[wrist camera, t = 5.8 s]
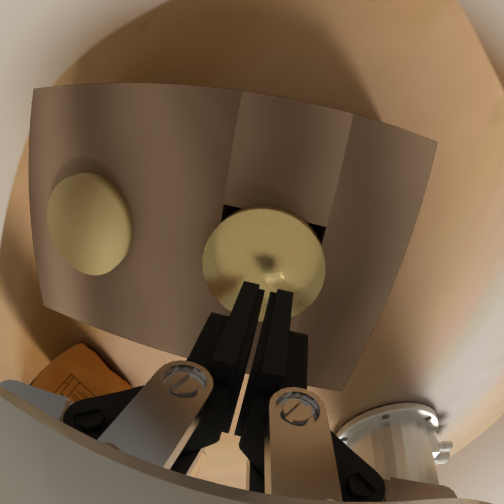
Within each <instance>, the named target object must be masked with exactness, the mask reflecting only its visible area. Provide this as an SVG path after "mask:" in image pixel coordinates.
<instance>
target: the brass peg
mask: <svg viewBox="0 0 504 504" xmlns="http://www.w3.org/2000/svg"><path fill="white" fill-rule="evenodd" d="M202 267H203V274H204V278H205V281H206V283H207V286H208V288H209V289H210V291H211V293H212V294H213V296H214V297H215V298H216V299H217V300H218V301H219V303H221V304H222V305H223V306H224V307H225V308H227V309H228V310H229V311H232V309H233V306H234V304H235V301H236V299H237V296H238V294H239V291H240V289H241V287H242V284H243V282H244V281H247V282H251V283H256V284H260V287H259V289H263V290H265V293H264V298H263V302H262V306H261V310H260V315H259V319H258V321H259V322H263V319H264V315H265V311H266V307H267V303H268V299H269V295H270V291H271V292H275V293H276V292H277V289H281V290H286V291H290V292H293V303H292V313H291V317H293V316H296V315H297V314H299V313H301V312H302V311H304V310H305V309H306V308H308V307H309V306H310V305H311V304H312V303H313V301H314V300H315V299H316V298H317V296H318V294H319V293H320V291H321V288H322V286H323V283H324V279H325V270H326V269H325V258H324V252H323V248H322V245H321V242H320V239H319V238H318V236H317V234H316V232H315V231H314V230H313V228H312V227H311V226H310V225H309V224H308V223H307V222H306V221H305V220H304V219H303V218H301V217H300V216H299V215H297V214H295V213H294V212H292V211H289V210H287V209H285V208H281V207H278V206H272V205H254V206H249V207H245V208H242V209H240V210H237V211H235V212H233V213H232V214H230V215H229V216H227V217H226V218H225V219H224V220H223V221H222V222H221V223H220V224H219V225H218V226H217V227H216V229H215V230H214V231H213V233H212V234H211V235H210V237H209V239H208V241H207V243H206V245H205V248H204V252H203V258H202Z"/></svg>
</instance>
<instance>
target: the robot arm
mask: <svg viewBox="0 0 504 504" xmlns="http://www.w3.org/2000/svg"><path fill="white" fill-rule="evenodd" d="M259 287H260V284H256V283H251V282H247V281H244V282H243V284H242V287H241V289H240V291H239V294H238V296H237V299H236V301H235V304H234V306H233V309H232V311H231V313H230V316H226V315H222V314H218V313H214V312H211V314H210V315H209V317H208V319H207V321H206V323H205V325H204V327H203V329H202V331H201V333H200V335H199V337H198V339H197V341H196V343H195V345H194V347H193V349H192V351H191V353H190V355H189V356H188V358H187V360H186V361H181V360H179V361H172V362H169V363H167V364H165V365H163V366H162V367H161V368H160V369H159V370H158V371H157V372H156V373H155V374H154V375H153V376H152V378H151V379H150V380H149V381H148V382H147V383H146V385H144V386H140V387H136V388H132V389H128V390H123V391H119V392H115V393H110V394H106V395H101V396H96V397H91V398H86V399H82V400H79V401H76V402H71V401H70V400H69V398H68V397H65V396H62V395H58V394H55V393H52V392H49V391H45V390H42V389H39V388H36V387H33V386H30V385H28V384H25V383H22V382H19V381H16V380H5V381H3V382H1V383H0V504H491V503H488V502H483V501H479V500H472V499H461V498H457V496H456V495H455V493H454V491H453V490H451V489H450V488H449V487H446V486H443V485H439V480H438V475H437V470H436V465H435V464H442V463H446V462H447V461H448V459H449V451H450V450H451V449H452V446H453V444H452V442H451V441H442V442H438V441H437V439H436V435H435V434H436V432H437V430H438V426H439V422H438V418H437V415H436V413H435V411H434V410H433V409H432V408H430V407H428V406H426V405H423V404H419V403H396V404H391V405H386V406H382V407H379V408H375V409H373V410H370V411H367V412H365V413H363V414H361V415H359V416H357V417H355V418H354V419H352V420H350V421H349V422H347V423H346V424H345V425H344V426H343V427H342V428H340V430H339V431H338V432H337V434H336V435H335V434H334V433H333V432H332V431H331V430H330V427H329V422H328V417H327V411H326V408H325V405H324V403H323V402H322V400H321V399H320V398H319V397H318V396H317V395H315V394H314V393H313V392H311V391H308V390H307V366H308V335H307V334H303V333H298V332H294V331H290V323H291V313H292V303H293V292H290V291H286V290H281V289H277V292H276V293H275V292H271V291H270V295H269V299H268V303H267V307H266V311H265V315H264V319H263V323H262V327H261V331H260V335H259V339H258V343H257V347H256V351H255V355H254V359H253V363H252V367H251V371H250V375H249V379H248V383H247V387H246V391H245V395H244V399H243V403H242V407H241V411H240V415H239V418H238V422H237V426H236V430H235V434H234V435H237V436H241V438H240V442H239V446H240V447H239V448H240V449H241V450H242V452H243V453H244V454H245V455H246V457H247V458H248V460H247V470H246V490H243V489H238V488H234V487H229V486H225V485H221V484H217V483H213V482H209V481H205V480H202V479H198V478H195V477H191V476H189V475H190V474H191V472H192V470H193V469H194V467H195V465H196V463H197V462H198V460H199V458H200V456H201V455H202V453H203V450H204V447H206V446H209V445H212V444H214V443H216V442H217V441H219V439H220V436H221V433H222V432H225V433H229V430H230V426H231V423H232V419H233V416H234V412H235V408H236V405H237V401H238V397H239V394H240V390H241V386H242V383H243V379H244V375H245V372H246V368H247V364H248V360H249V357H250V353H251V348H252V344H253V340H254V336H255V332H256V327H257V323H258V319H259V315H260V310H261V306H262V302H263V298H264V293H265V290H263V289H259Z"/></svg>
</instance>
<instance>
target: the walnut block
mask: <svg viewBox="0 0 504 504" xmlns="http://www.w3.org/2000/svg"><path fill="white" fill-rule="evenodd" d="M437 143H438V142H437V141H434V140H431V139H429V138H426V137H424V136H421V135H418V134H415V133H413V132H410V131H407V130H404V129H401V128H398V127H395V126H392V125H389V124H386V123H383V122H380V121H376V120H373V119H370V118H366V117H363V116H360V115H356V114H352V113H349V112H345V111H341V110H337V109H333V108H329V107H325V106H321V105H317V104H312V103H308V102H303V101H298V100H293V99H288V98H283V97H277V96H272V95H266V94H260V93H253V92H247V91H240V90H232V89H224V88H215V87H205V86H193V85H180V84H161V83H96V84H77V85H64V86H54V87H45V88H36V89H34V91H33V99H32V109H31V120H30V135H29V199H30V215H31V227H32V237H33V246H34V253H35V260H36V267H37V273H38V279H39V285H40V290H41V295H42V300H43V305H44V306H45V307H48V308H50V309H52V310H54V311H57V312H59V313H61V314H64V315H66V316H68V317H71V318H73V319H76V320H78V321H80V322H83V323H85V324H88V325H90V326H93V327H96V328H98V329H101V330H103V331H106V332H109V333H111V334H114V335H117V336H120V337H123V338H125V339H128V340H131V341H134V342H137V343H140V344H143V345H146V346H149V347H152V348H155V349H158V350H161V351H165V352H168V353H171V354H174V355H178V356H181V357H185V358H188V356H189V355H190V353H191V351H192V349H193V347H194V345H195V343H196V341H197V339H198V337H199V335H200V333H201V331H202V329H203V327H204V325H205V323H206V321H207V319H208V317H209V315H210V314H211V312H214V313H218V314H222V315H226V316H230V313H231V311H229V310H228V309H227V308H225V307H224V306H223V305H222V304H221V303H219V301H218V300H217V299H216V298H215V297H214V296H213V294H212V293H211V291H210V289H209V288H208V286H207V283H206V281H205V278H204V274H203V267H202V258H203V252H204V248H205V245H206V243H207V241H208V239H209V237H210V235H211V234H212V233H213V231H214V230H215V229H216V227H217V226H218V225H219V224H220V223H221V222H222V221H223V220H224V219H225V218H226V217H227V216H229V215H230V214H232V213H233V212H235V211H237V210H240V209H242V208H245V207H249V206H254V205H272V206H278V207H281V208H285V209H287V210H289V211H292V212H294V213H295V214H297V215H299V216H300V217H301V218H303V219H304V220H305V221H306V222H307V223H308V224H309V225H310V226H311V227H312V228H313V230H314V231H315V232H316V234H317V236H318V238H319V239H320V242H321V245H322V248H323V252H324V258H325V269H326V270H325V279H324V283H323V286H322V288H321V291H320V293H319V294H318V296H317V298H316V299H315V300H314V301H313V303H312V304H311V305H310V306H309V307H308V308H306V309H305V310H304V311H302V312H301V313H299V314H297V315H296V316H293V317H291V323H290V331H294V332H298V333H303V334H307V335H308V366H307V386H312V387H318V388H324V389H331V390H338V391H342V390H343V388H344V387H345V385H346V383H347V381H348V379H349V377H350V376H351V374H352V372H353V370H354V368H355V366H356V364H357V362H358V360H359V358H360V356H361V354H362V352H363V350H364V348H365V346H366V344H367V342H368V340H369V338H370V336H371V334H372V332H373V330H374V327H375V325H376V323H377V321H378V319H379V316H380V314H381V312H382V310H383V307H384V305H385V303H386V300H387V298H388V296H389V293H390V291H391V288H392V286H393V283H394V281H395V278H396V276H397V273H398V271H399V268H400V266H401V263H402V260H403V258H404V255H405V252H406V249H407V246H408V244H409V241H410V238H411V235H412V232H413V229H414V226H415V223H416V220H417V217H418V214H419V210H420V207H421V204H422V200H423V197H424V194H425V190H426V187H427V183H428V179H429V176H430V172H431V168H432V164H433V160H434V156H435V151H436V147H437ZM262 323H263V322H259V321H258V323H257V327H256V332H255V336H254V340H253V344H252V348H251V353H250V357H249V360H248V364H247V368H246V372H245V373H246V374H250V371H251V367H252V363H253V359H254V355H255V351H256V347H257V343H258V339H259V335H260V331H261V327H262Z"/></svg>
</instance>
